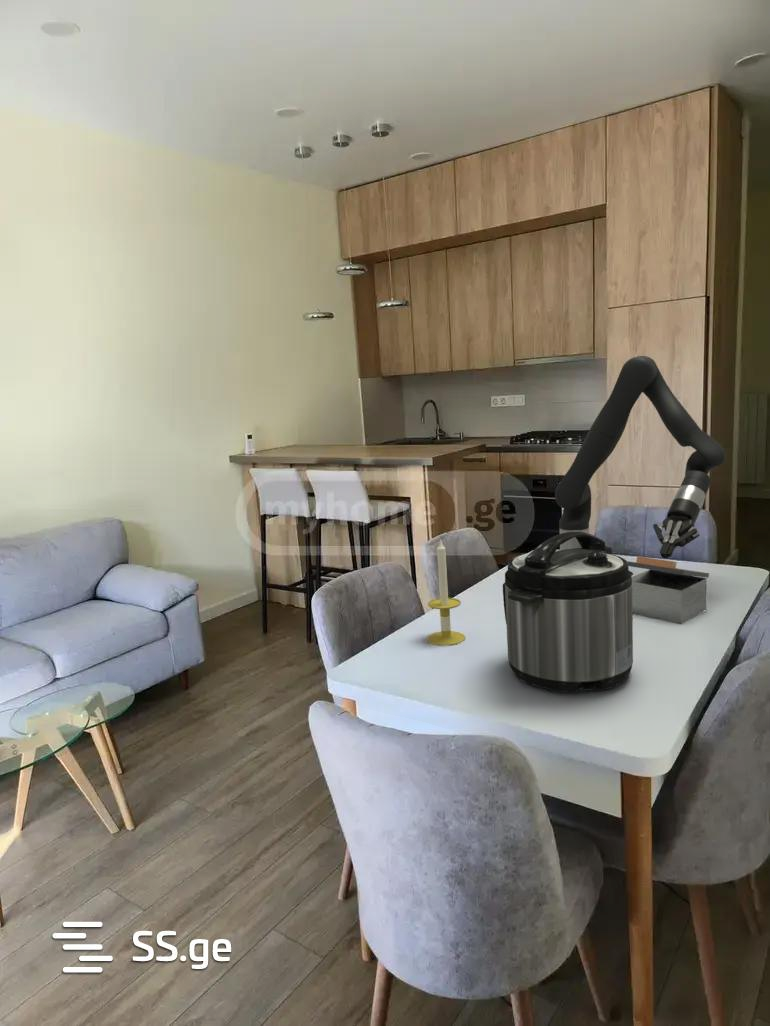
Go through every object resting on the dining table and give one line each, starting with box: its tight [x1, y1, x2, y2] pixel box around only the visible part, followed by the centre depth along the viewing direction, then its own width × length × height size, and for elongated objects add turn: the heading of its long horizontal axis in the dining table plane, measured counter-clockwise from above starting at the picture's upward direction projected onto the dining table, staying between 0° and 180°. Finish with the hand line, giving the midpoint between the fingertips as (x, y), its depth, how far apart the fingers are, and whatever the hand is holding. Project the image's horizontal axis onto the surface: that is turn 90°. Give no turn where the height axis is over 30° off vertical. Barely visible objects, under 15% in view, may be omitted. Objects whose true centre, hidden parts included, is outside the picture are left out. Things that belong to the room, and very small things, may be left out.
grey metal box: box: [632, 569, 708, 625], centre depth 184 cm, size 16×14×9 cm
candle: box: [426, 538, 466, 646], centre depth 174 cm, size 10×10×27 cm
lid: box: [626, 556, 710, 579], centre depth 183 cm, size 17×15×3 cm
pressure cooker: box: [502, 532, 634, 693], centre depth 148 cm, size 30×28×32 cm
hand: (664, 556), depth 182 cm, fingers closed
